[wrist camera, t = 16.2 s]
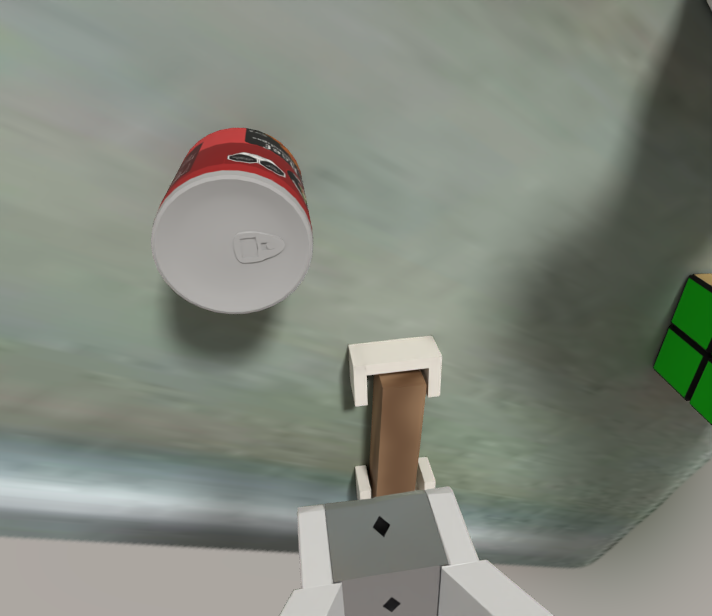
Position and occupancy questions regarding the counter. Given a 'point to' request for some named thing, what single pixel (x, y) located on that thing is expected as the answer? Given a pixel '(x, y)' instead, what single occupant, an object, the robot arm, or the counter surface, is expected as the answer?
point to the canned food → (234, 224)
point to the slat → (396, 431)
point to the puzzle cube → (690, 346)
